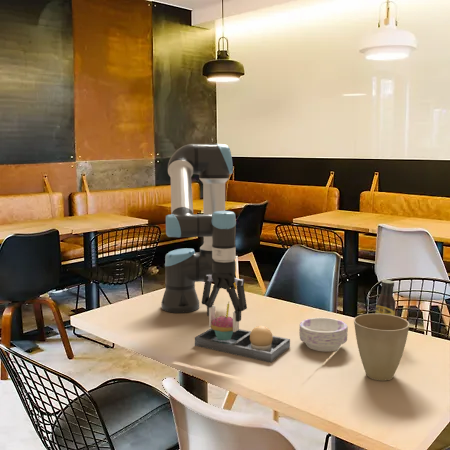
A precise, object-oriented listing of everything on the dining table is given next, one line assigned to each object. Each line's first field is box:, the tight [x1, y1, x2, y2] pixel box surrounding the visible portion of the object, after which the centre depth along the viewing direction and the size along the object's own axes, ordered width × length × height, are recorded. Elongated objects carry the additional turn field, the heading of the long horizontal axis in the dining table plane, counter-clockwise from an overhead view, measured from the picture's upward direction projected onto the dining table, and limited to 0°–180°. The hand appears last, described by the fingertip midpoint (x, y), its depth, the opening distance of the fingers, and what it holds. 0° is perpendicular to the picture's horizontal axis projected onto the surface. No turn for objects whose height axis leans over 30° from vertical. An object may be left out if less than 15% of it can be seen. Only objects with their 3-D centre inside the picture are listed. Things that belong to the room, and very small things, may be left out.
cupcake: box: [210, 301, 233, 340], centre depth 175 cm, size 9×8×12 cm
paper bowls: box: [299, 317, 349, 352], centre depth 173 cm, size 15×15×8 cm
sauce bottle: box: [375, 279, 397, 316], centre depth 180 cm, size 7×6×20 cm
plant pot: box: [353, 313, 410, 381], centre depth 152 cm, size 15×15×16 cm
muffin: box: [250, 325, 274, 352], centre depth 169 cm, size 7×7×8 cm
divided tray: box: [194, 327, 291, 364], centre depth 172 cm, size 27×14×4 cm, turn 60°
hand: (223, 328), depth 175 cm, fingers closed on cupcake, 8 cm apart
